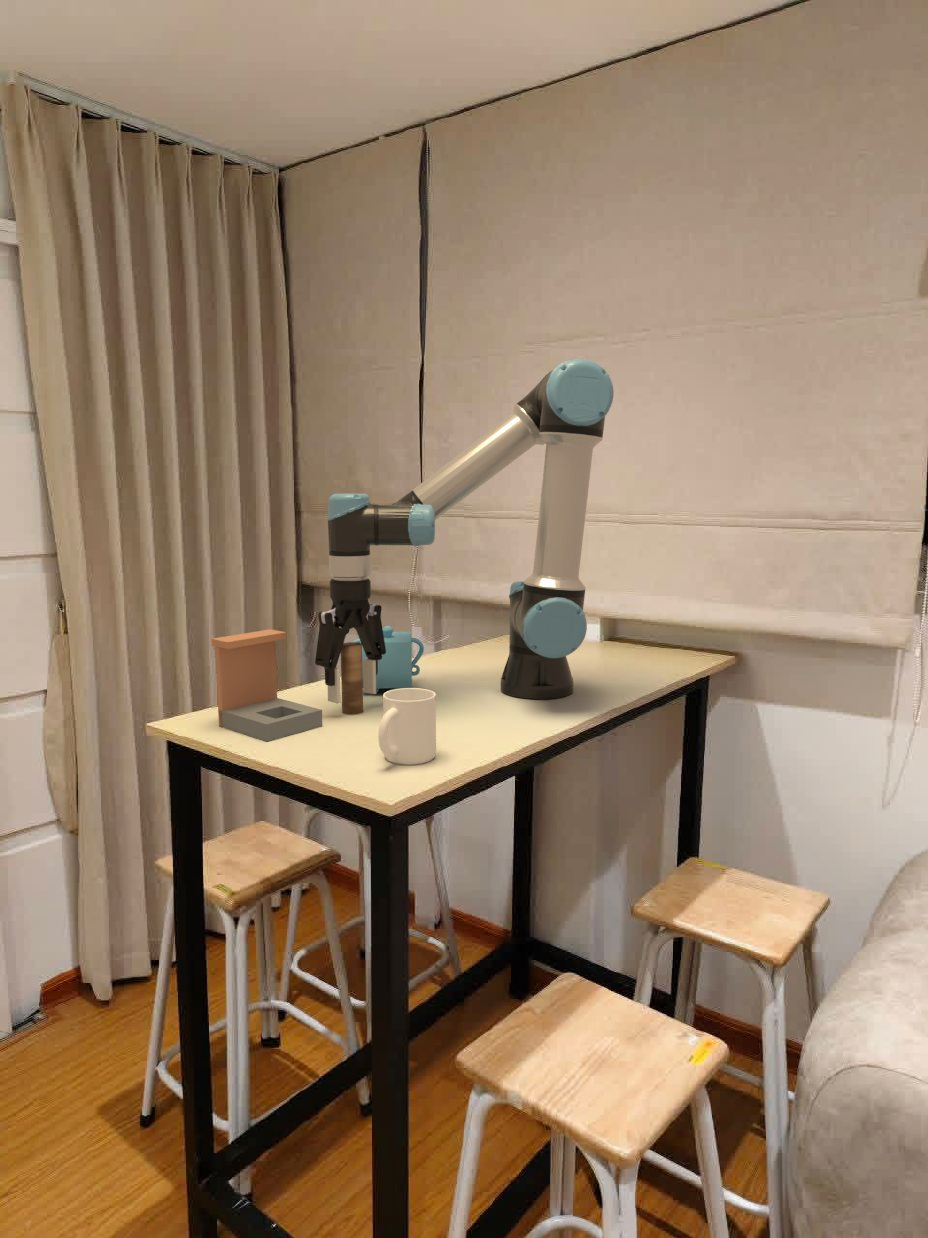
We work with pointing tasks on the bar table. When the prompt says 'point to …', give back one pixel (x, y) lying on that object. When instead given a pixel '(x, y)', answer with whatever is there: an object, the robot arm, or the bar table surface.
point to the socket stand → (256, 689)
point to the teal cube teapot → (396, 660)
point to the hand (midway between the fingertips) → (352, 697)
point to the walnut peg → (352, 678)
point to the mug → (408, 726)
